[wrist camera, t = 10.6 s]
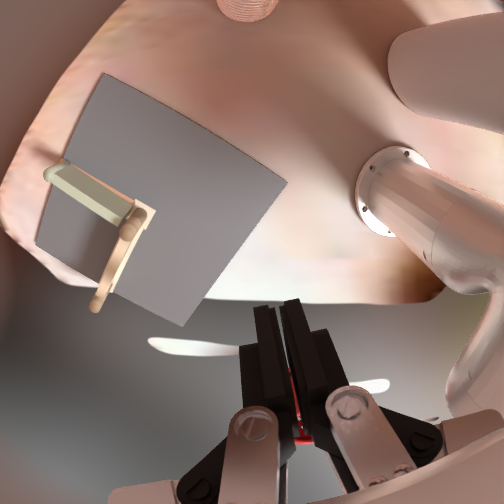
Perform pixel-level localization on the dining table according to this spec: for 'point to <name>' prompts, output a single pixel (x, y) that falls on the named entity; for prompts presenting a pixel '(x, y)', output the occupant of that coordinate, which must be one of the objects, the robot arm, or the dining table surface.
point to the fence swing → (88, 192)
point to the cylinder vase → (453, 71)
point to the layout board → (156, 201)
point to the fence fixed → (118, 257)
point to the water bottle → (246, 9)
